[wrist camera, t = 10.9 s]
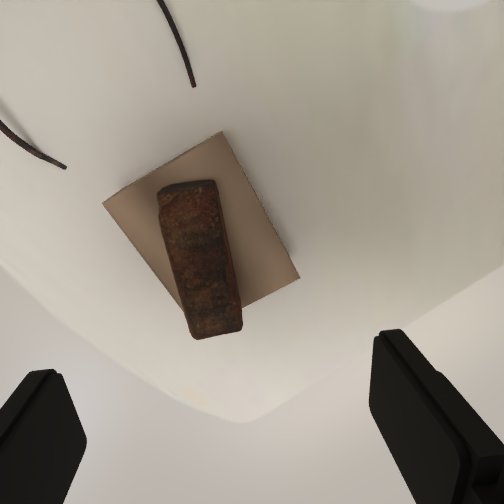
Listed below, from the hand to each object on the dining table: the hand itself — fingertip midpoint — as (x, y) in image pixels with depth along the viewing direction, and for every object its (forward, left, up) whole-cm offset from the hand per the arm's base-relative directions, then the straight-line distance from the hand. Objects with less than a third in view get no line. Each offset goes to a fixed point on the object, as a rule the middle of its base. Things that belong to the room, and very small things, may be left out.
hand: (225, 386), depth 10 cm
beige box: (+1, +1, -21) cm, 21 cm away
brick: (+1, +2, -17) cm, 17 cm away
